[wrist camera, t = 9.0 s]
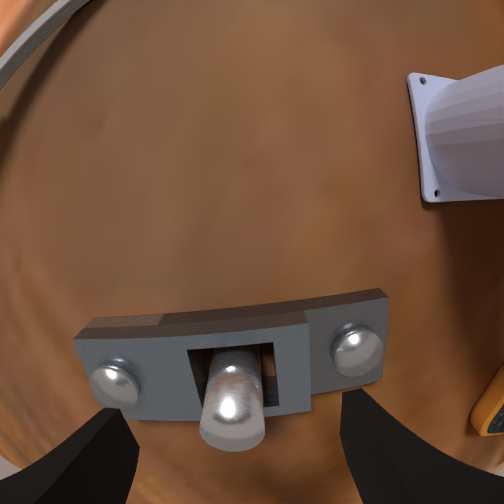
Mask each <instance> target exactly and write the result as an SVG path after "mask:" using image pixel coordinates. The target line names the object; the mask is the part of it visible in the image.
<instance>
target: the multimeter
mask: <svg viewBox="0 0 504 504" xmlns="http://www.w3.org/2000/svg"><path fill="white" fill-rule="evenodd" d="M471 423H472V425H473V427H474V428H475V429H476V431H477V432H478V433H479V434H480V436H493V435H501V434H504V364H503V365H502V366H501V367H500V369H499V370H498V371H497V373H496V374H495V376H494V377H493V379H492V381H491V382H490V384H489V385H488V387H487V388H486V390H485V391H484V393H483V394H482V395H481V397H480V398H479V400H478V401H477V402H476V404H475V406H474V407H473V409H472V412H471Z"/></svg>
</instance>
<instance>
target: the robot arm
mask: <svg viewBox="0 0 504 504" xmlns="http://www.w3.org/2000/svg"><path fill="white" fill-rule="evenodd" d="M420 79H421V80H422V81H423V84H421V83H420ZM407 82H408V87H409V92H410V97H411V103H412V109H413V115H414V121H415V128H416V136H417V144H418V153H419V163H420V174H421V189H422V197H423V199H424V200H425V201H426V202H447V201H464V200H484V199H504V64H503V65H500V66H498V67H495V68H492V69H489V70H486V71H483V72H481V73H478V74H475V75H472V76H470V77H467V78H464V79H462V80H459V81H458V80H453V79H448V78H443V77H437V76H432V75H426V74H419V73H411V74H410V75H408V77H407ZM435 190H436V191H437V196H436V197H435V195H434V192H435ZM340 437H341V441H342V445H343V449H344V453H345V457H346V461H347V463H348V466H349V469H350V471H351V474H352V476H353V479H354V481H355V484H356V487H357V489H358V492H359V494H360V497H361V499H362V502H363V504H504V477H502V476H498V475H495V474H492V473H489V472H486V471H483V470H480V469H478V468H475V467H472V466H470V465H467V464H465V463H463V462H461V461H459V460H456V459H454V458H453V457H451V456H449V455H447V454H445V453H443V452H441V451H440V450H438V449H436V448H435V447H433V446H432V445H430V444H429V443H427V442H426V441H424V440H423V439H421V438H420V437H418V436H417V435H416V434H414V433H413V432H411V431H410V430H409V429H408V428H406V427H405V426H404V425H403V424H401V423H400V422H399V421H398V420H396V419H395V418H394V417H393V416H392V415H390V414H389V413H388V412H387V411H386V410H385V409H384V408H382V407H381V406H380V405H379V404H378V403H377V402H376V401H375V400H374V399H373V398H372V397H371V396H370V395H368V394H367V393H366V392H365V391H364V390H363V389H362V388H360V389H355V390H351V391H346V392H342V410H341V425H340ZM139 449H140V447H139V445H138V443H137V441H136V439H135V438H134V436H133V434H132V432H131V430H130V428H129V426H128V424H127V422H126V420H125V418H124V416H123V414H122V412H121V410H120V408H106V407H105V408H103V409H102V410H101V411H99V412H98V413H97V414H96V415H95V416H93V417H92V418H91V419H90V420H89V421H87V422H86V423H85V424H84V425H83V426H82V427H80V428H79V429H78V430H77V431H76V432H74V433H73V434H72V435H71V436H70V437H68V438H67V439H66V440H65V441H64V442H62V443H61V444H60V445H58V446H57V447H56V448H54V449H53V450H52V451H50V452H49V453H48V454H46V455H45V456H44V457H42V458H41V459H39V460H38V461H36V462H35V463H33V464H32V465H30V466H28V467H26V468H25V469H23V470H21V471H19V472H17V473H16V474H13V475H11V476H9V477H7V478H4V479H2V480H0V504H125V503H126V500H127V497H128V494H129V491H130V488H131V485H132V482H133V479H134V475H135V472H136V467H137V462H138V456H139Z"/></svg>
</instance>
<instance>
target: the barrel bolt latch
mask: <svg viewBox="0 0 504 504" xmlns="http://www.w3.org/2000/svg"><path fill="white" fill-rule="evenodd" d="M388 304H389V297H388V296H387V295H386V294H385V293H384V292H383V291H382V290H380V289H379V288H377V289H370V290H364V291H358V292H352V293H345V294H339V295H332V296H325V297H318V298H311V299H303V300H296V301H288V302H280V303H271V304H263V305H254V306H245V307H236V308H226V309H216V310H205V311H194V312H182V313H169V314H155V315H140V316H123V317H102V318H93V319H92V320H91V321H90V322H89V323H88V324H87V325H86V326H85V327H84V328H83V329H82V330H81V331H80V332H79V333H78V334H77V335H76V336H75V337H74V338H73V341H74V344H75V346H76V349H77V352H78V354H79V357H80V359H81V362H82V364H83V367H84V369H85V372H86V374H87V377H88V379H89V384H90V388H91V390H92V392H93V394H94V395H95V396H96V398H97V399H98V401H99V403H100V405H101V407H102V409H103V408H105V407H106V408H120V410H121V412H122V414H123V416H124V418H125V419H135V420H154V421H201V416H202V410H203V405H204V399H205V394H206V388H207V383H208V378H207V374H206V370H205V366H204V361H203V357H202V353H201V349H203V348H217V347H229V346H239V345H249V344H259V343H268V342H272V347H273V356H274V366H275V376H271V377H262V393H263V409H264V417H269V416H277V415H286V414H293V413H300V412H307V411H311V395H313V394H319V393H324V392H330V391H335V390H341V389H346V388H350V387H355V386H360V385H364V384H369V383H373V382H377V381H381V379H382V372H383V363H384V355H385V345H386V334H387V321H388Z"/></svg>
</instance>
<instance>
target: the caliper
mask: <svg viewBox="0 0 504 504" xmlns="http://www.w3.org/2000/svg"><path fill="white" fill-rule="evenodd" d="M89 1H90V0H58V1H57V2H56V3H55V4H54V5H52V6H51V7H50V8H49V9H48V10H47V11H46V12H45V13H43V14H42V15H41V16H40V17H39V18H38V19H37V20H36V21H35V22H34V23H33V24H32V25H31V26H30V27H29V28H28V29H27V30H26V31H25V32H24V33H23V34H22V35H21V36H20V37H19V38H18V39H17V40H16V41H15V42H14V43H13V44H12V45H11V47H10V48H9V49H8V50H7V51H6V52H5V53H4V54H3V56H2V57H1V58H0V90H1V88H2V87H3V86H4V84H5V83H6V82H7V81H8V79H9V78H10V77H11V76H12V75H13V73H14V72H15V71H16V70H17V69H18V68H19V66H20V65H21V64H22V63H23V62H24V61H25V60H26V59H27V58H28V56H29V55H30V54H31V53H32V52H33V51H34V50H35V49H36V48H37V47H38V46H39V45H40V44H41V43H42V42H43V41H44V40H45V39H46V38H47V37H48V36H49V35H50V34H51V33H52V32H53V31H54V30H55V29H57V28H58V27H59V26H60V25H61V24H62V23H63V22H64V21H66V20H67V19H68V18H69V17H70V16H71V15H73V14H74V13H75V12H76V11H77V10H79V9H80V8H81V7H82V6H84V5H85V4H86V3H87V2H89Z"/></svg>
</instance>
